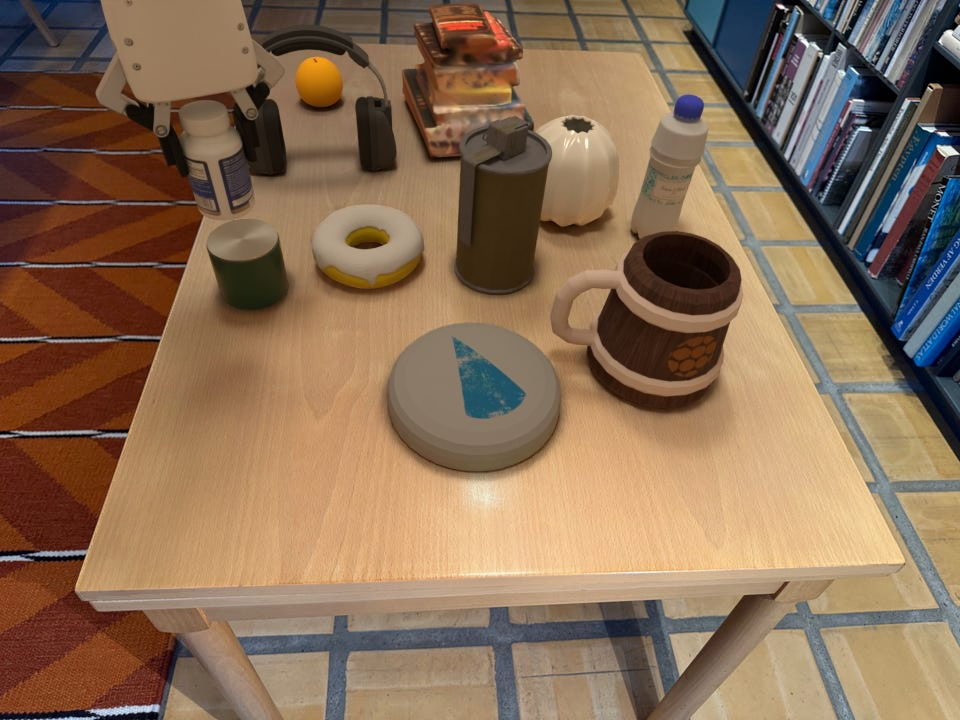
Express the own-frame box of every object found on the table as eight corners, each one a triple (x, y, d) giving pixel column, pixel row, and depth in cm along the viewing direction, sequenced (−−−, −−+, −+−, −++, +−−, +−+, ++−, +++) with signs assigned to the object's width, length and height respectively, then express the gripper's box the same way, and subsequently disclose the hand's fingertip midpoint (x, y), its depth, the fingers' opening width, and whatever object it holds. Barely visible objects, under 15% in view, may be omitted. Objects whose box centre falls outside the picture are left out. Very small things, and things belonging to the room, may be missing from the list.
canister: (495, 234, 90) (508, 93, 75) (549, 272, 85) (575, 129, 70) (435, 265, 84) (437, 120, 70) (489, 307, 80) (504, 161, 65)
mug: (698, 320, 80) (741, 220, 69) (728, 417, 70) (784, 317, 59) (539, 312, 80) (557, 209, 69) (545, 408, 69) (568, 305, 58)
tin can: (213, 309, 76) (197, 259, 71) (229, 266, 82) (215, 217, 76) (282, 311, 77) (271, 261, 71) (293, 268, 82) (284, 219, 77)
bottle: (631, 247, 90) (672, 109, 75) (622, 218, 94) (659, 83, 80) (678, 248, 90) (728, 111, 75) (667, 220, 95) (712, 85, 80)
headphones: (394, 150, 103) (389, 17, 88) (398, 172, 99) (393, 36, 84) (249, 156, 99) (219, 18, 85) (247, 178, 95) (214, 37, 81)
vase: (496, 205, 95) (504, 118, 85) (560, 174, 101) (575, 90, 92) (565, 251, 88) (583, 163, 78) (629, 215, 95) (652, 129, 85)
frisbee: (507, 320, 78) (511, 289, 74) (592, 434, 67) (601, 404, 64) (362, 366, 72) (359, 334, 68) (430, 499, 61) (430, 470, 57)
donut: (434, 238, 88) (435, 207, 85) (408, 304, 79) (407, 273, 75) (336, 221, 89) (332, 190, 86) (299, 285, 80) (293, 253, 77)
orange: (346, 112, 111) (341, 68, 105) (298, 114, 109) (291, 69, 104) (343, 91, 116) (339, 48, 110) (298, 92, 114) (291, 49, 109)
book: (535, 157, 104) (550, 48, 92) (426, 166, 101) (426, 54, 88) (497, 92, 119) (506, -9, 106) (401, 98, 115) (398, -7, 103)
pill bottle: (253, 188, 65) (232, 93, 58) (259, 218, 62) (237, 122, 55) (196, 194, 64) (168, 98, 57) (199, 226, 60) (169, 128, 53)
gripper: (258, -89, 51) (292, 125, 65) (13, -72, 45) (107, 163, 58) (290, -62, 47) (319, 161, 61) (26, -38, 41) (124, 206, 54)
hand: (215, 160), depth 59 cm, fingers closed on pill bottle, 5 cm apart
